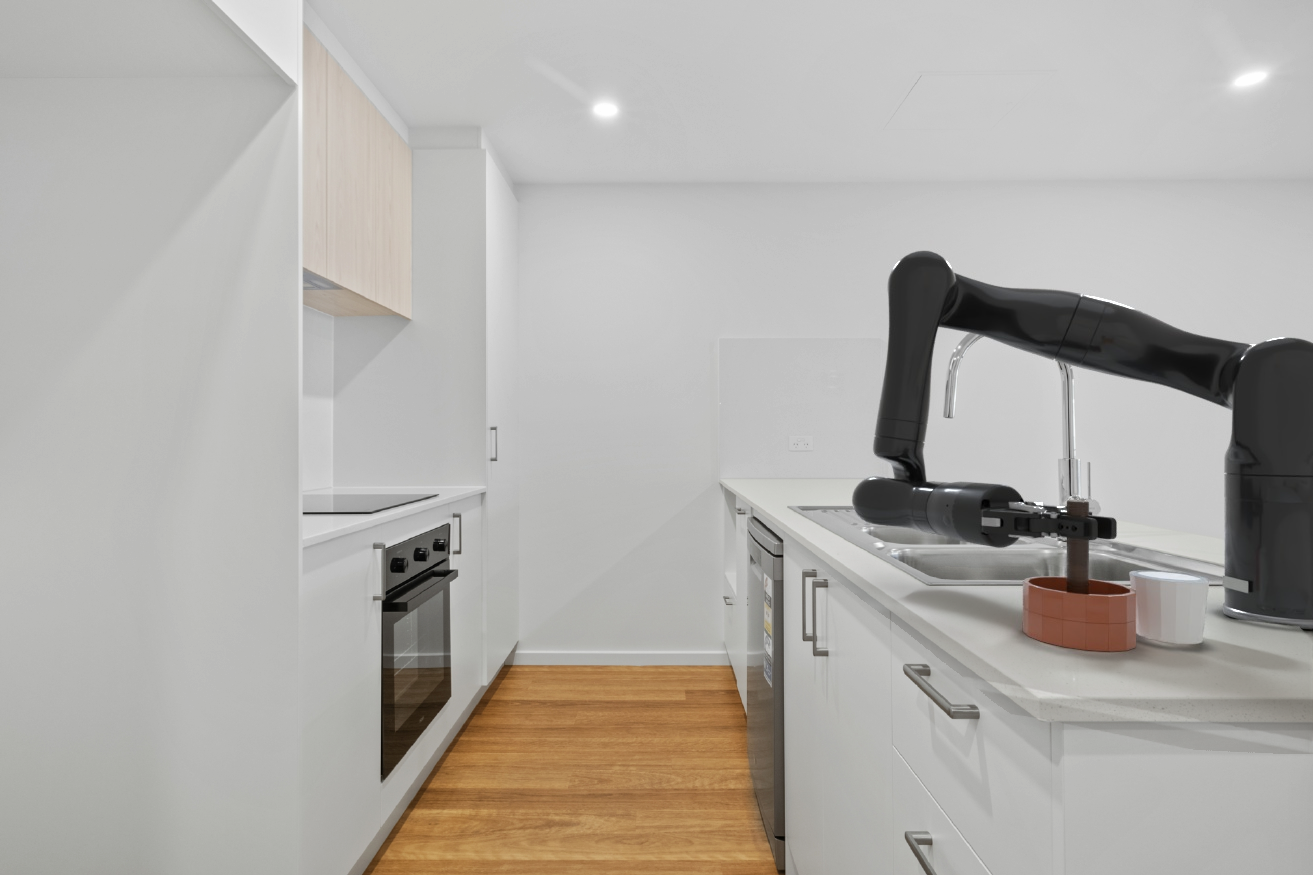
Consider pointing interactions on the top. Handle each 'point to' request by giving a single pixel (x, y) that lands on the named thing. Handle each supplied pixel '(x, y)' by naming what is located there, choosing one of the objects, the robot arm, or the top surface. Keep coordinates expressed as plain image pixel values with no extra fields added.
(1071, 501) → the brown wooden pestle
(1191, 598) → the white cylinder
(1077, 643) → the bowl
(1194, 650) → the top surface
